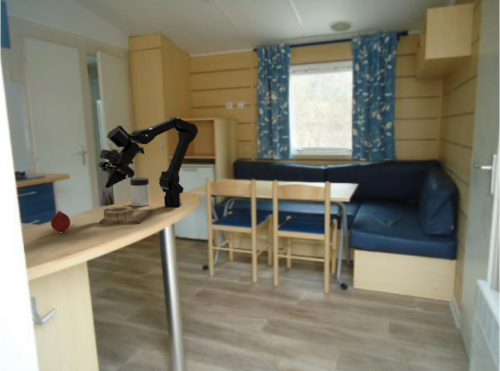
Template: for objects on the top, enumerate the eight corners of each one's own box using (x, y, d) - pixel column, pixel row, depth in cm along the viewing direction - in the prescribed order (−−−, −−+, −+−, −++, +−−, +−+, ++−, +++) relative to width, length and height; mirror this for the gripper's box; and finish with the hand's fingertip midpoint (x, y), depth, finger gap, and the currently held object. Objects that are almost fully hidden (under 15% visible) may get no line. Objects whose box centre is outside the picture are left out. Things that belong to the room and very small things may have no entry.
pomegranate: (75, 231, 123) (72, 208, 122) (61, 236, 118) (59, 212, 117) (62, 229, 125) (59, 207, 124) (48, 234, 120) (45, 211, 118)
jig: (151, 212, 150) (151, 202, 149) (139, 223, 132) (138, 212, 131) (117, 212, 149) (116, 202, 149) (100, 224, 132) (99, 213, 131)
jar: (135, 207, 159) (134, 180, 157) (127, 204, 165) (126, 178, 163) (154, 204, 165) (152, 178, 163) (145, 201, 171) (144, 176, 169)
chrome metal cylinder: (115, 202, 140) (113, 169, 138) (112, 205, 135) (109, 171, 133) (102, 203, 139) (99, 170, 137) (99, 206, 134) (95, 172, 132)
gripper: (100, 141, 142) (75, 171, 136) (124, 142, 130) (98, 175, 124) (120, 158, 149) (97, 188, 143) (145, 161, 137) (121, 194, 131)
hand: (102, 186), depth 135 cm, fingers closed on chrome metal cylinder, 5 cm apart
